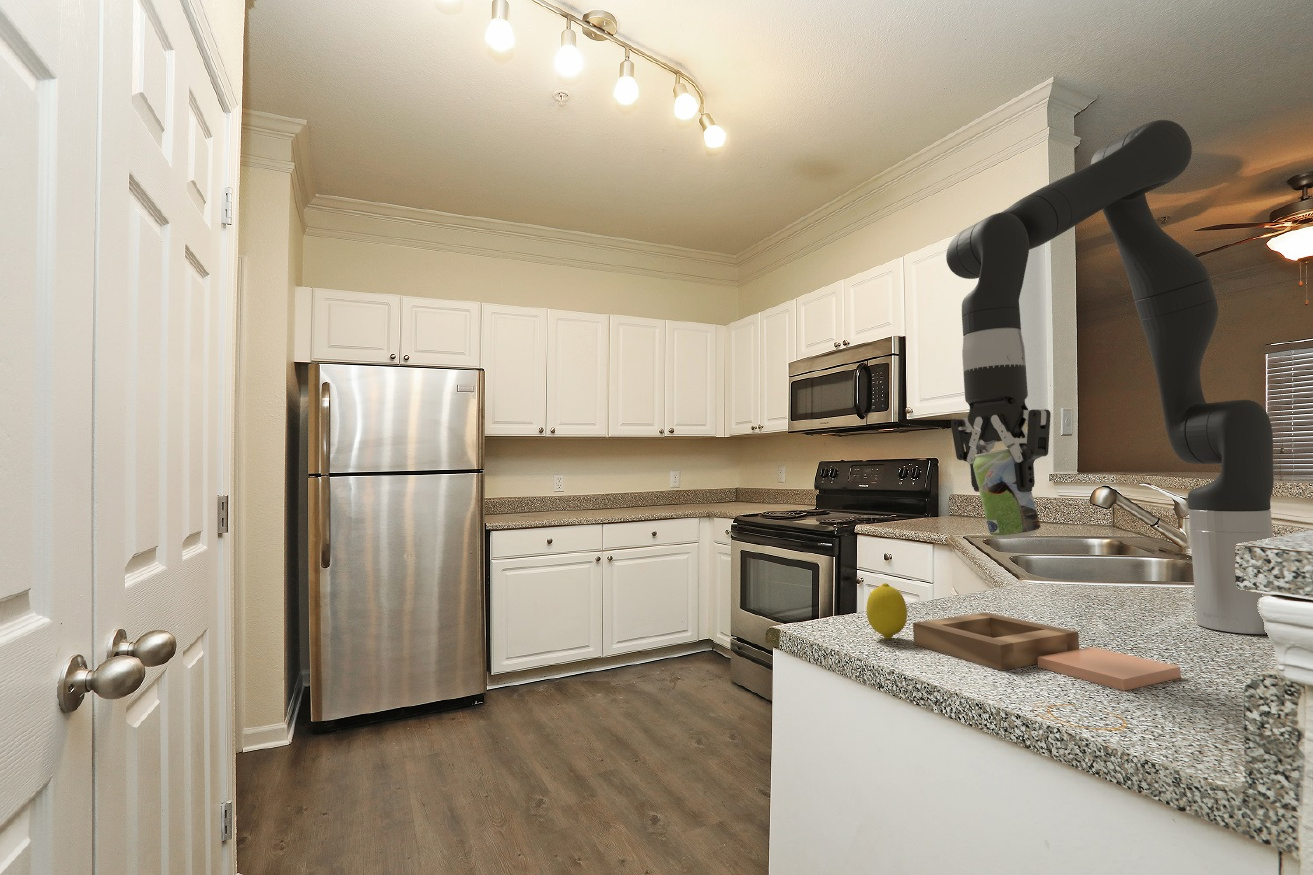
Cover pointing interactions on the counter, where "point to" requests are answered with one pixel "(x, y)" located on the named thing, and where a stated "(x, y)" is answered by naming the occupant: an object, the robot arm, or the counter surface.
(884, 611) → the lemon
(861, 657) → the counter surface
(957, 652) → the board
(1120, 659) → the plate
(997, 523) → the beverage can
